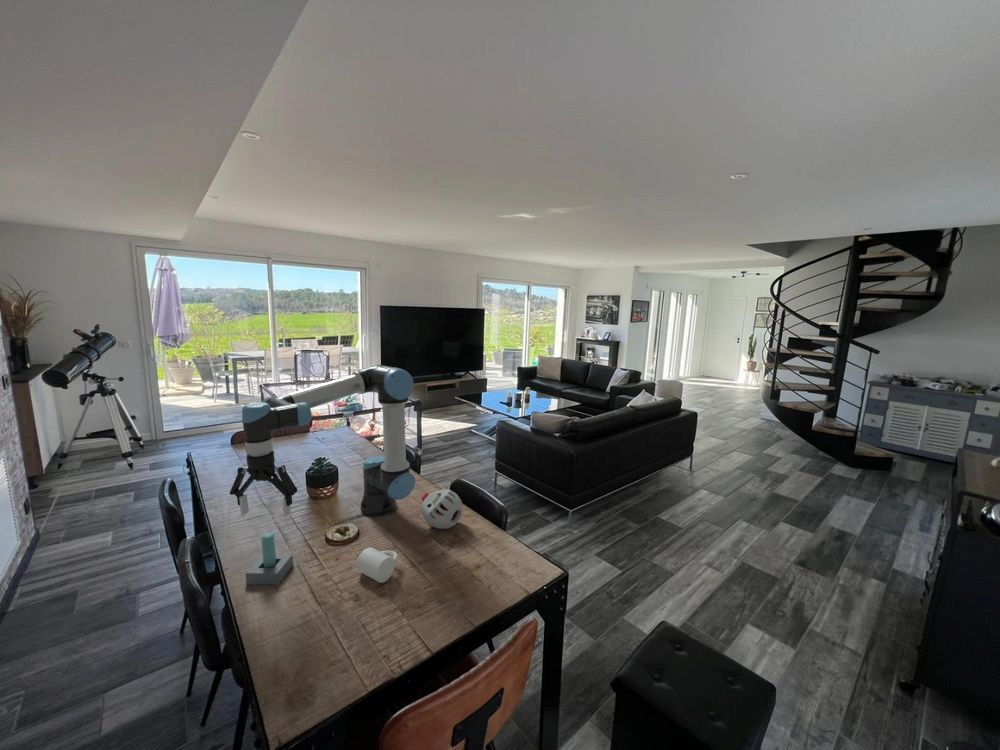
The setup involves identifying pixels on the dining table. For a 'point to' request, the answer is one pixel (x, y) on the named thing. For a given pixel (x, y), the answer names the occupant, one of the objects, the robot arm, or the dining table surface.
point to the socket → (269, 570)
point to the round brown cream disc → (341, 533)
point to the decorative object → (442, 508)
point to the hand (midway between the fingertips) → (266, 514)
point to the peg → (268, 550)
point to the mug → (376, 564)
